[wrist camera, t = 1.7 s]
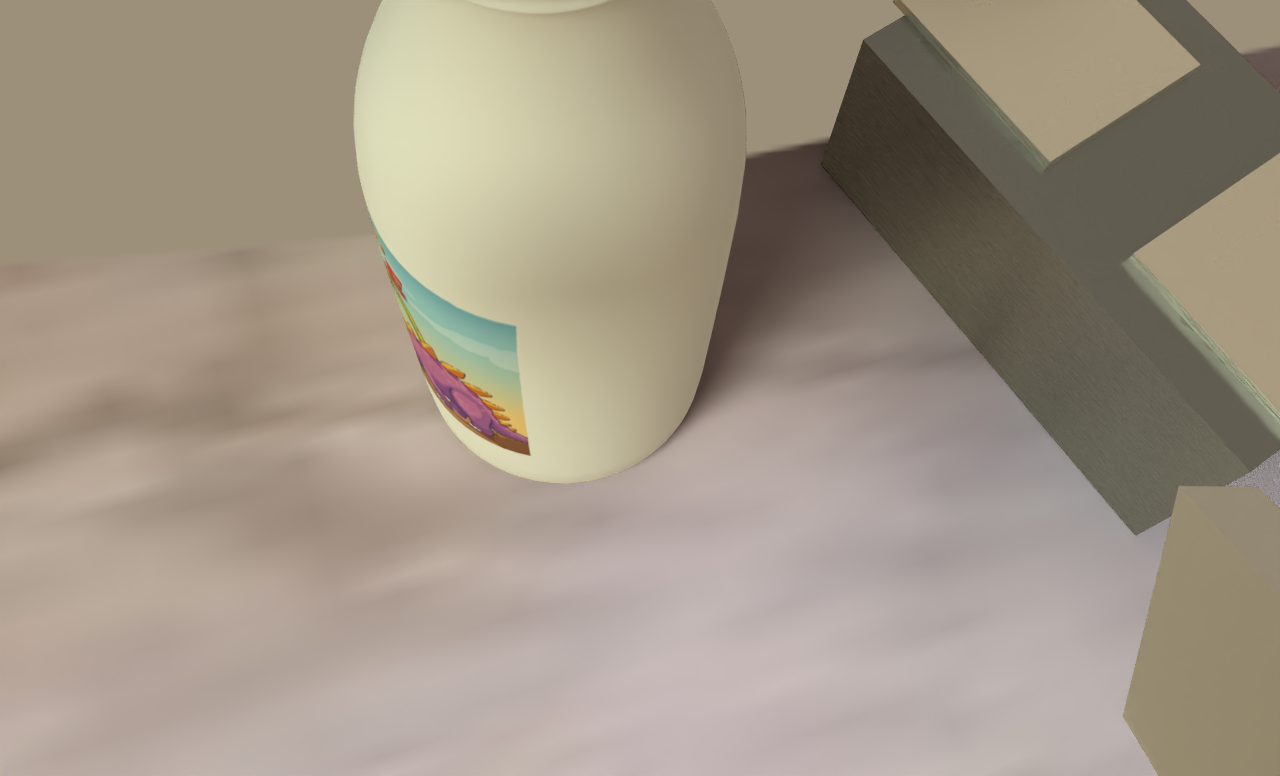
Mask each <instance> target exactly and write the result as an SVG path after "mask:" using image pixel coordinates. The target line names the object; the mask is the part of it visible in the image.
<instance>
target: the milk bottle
mask: <svg viewBox="0 0 1280 776" xmlns="http://www.w3.org/2000/svg"><path fill="white" fill-rule="evenodd" d="M354 104H355V105H354V136H355V146H356V155H357V164H358V172H359V176H360V181H361V186H362V190H363V193H364V197H365V201H366V204H367V208H368V211H369V215H370V219H371V223H372V226H373V230H374V233H375V236H376V239H377V242H378V245H379V248H380V251H381V254H382V257H383V260H384V263H385V266H386V269H387V272H388V275H389V278H390V280H391V283H392V286H393V289H394V292H395V295H396V298H397V301H398V304H399V307H400V310H401V312H402V315H403V318H404V321H405V324H406V326H407V329H408V332H409V335H410V337H411V340H412V343H413V346H414V349H415V351H416V354H417V357H418V360H419V362H420V365H421V368H422V370H423V373H424V376H425V379H426V381H427V384H428V387H429V389H430V391H431V394H432V396H433V398H434V400H435V402H436V404H437V406H438V408H439V411H440V413H441V414H442V416H443V418H444V419H445V421H446V423H447V424H448V426H449V427H450V428H451V430H452V431H453V432H454V434H455V435H456V436H457V437H458V438H459V439H460V440H461V441H462V442H463V443H464V445H466V446H467V447H468V448H469V449H470V450H471V451H473V452H474V453H475V454H476V455H478V456H479V457H481V458H482V459H483V460H485V461H486V462H488V463H490V464H492V465H493V466H495V467H497V468H499V469H501V470H503V471H506V472H508V473H510V474H513V475H516V476H519V477H522V478H526V479H530V480H535V481H541V482H548V483H579V482H586V481H592V480H596V479H600V478H604V477H608V476H611V475H613V474H616V473H619V472H621V471H623V470H625V469H628V468H630V467H632V466H634V465H635V464H637V463H639V462H640V461H642V460H644V459H645V458H646V457H648V456H649V455H651V454H652V453H653V452H655V451H656V450H657V449H658V448H659V447H660V446H661V445H662V444H664V443H665V442H666V441H667V439H668V438H669V437H670V436H671V435H672V434H673V433H674V432H675V430H676V429H677V428H678V426H679V425H680V423H681V422H682V420H683V419H684V417H685V415H686V414H687V412H688V410H689V408H690V406H691V404H692V401H693V399H694V396H695V393H696V390H697V387H698V384H699V381H700V378H701V375H702V371H703V367H704V363H705V359H706V355H707V351H708V347H709V342H710V338H711V334H712V330H713V325H714V321H715V317H716V312H717V308H718V304H719V299H720V295H721V291H722V286H723V282H724V277H725V272H726V268H727V263H728V258H729V254H730V249H731V244H732V240H733V235H734V230H735V226H736V221H737V216H738V210H739V203H740V197H741V190H742V183H743V177H744V170H745V161H746V110H745V101H744V95H743V89H742V82H741V77H740V73H739V68H738V64H737V61H736V57H735V55H734V51H733V49H732V46H731V43H730V40H729V37H728V34H727V32H726V29H725V27H724V25H723V23H722V21H721V19H720V17H719V15H718V13H717V11H716V9H715V7H714V5H713V3H712V1H711V0H382V2H381V4H380V6H379V8H378V10H377V13H376V16H375V18H374V21H373V23H372V26H371V28H370V31H369V34H368V36H367V39H366V42H365V45H364V49H363V53H362V57H361V62H360V66H359V71H358V75H357V82H356V90H355V103H354Z"/></svg>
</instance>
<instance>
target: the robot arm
mask: <svg viewBox="0 0 1280 776" xmlns="http://www.w3.org/2000/svg"><path fill="white" fill-rule="evenodd" d="M1123 717H1124V719H1125V721H1126V722H1127V724H1128V726H1129V727H1130V729H1131V731H1132V732H1133V734H1134V736H1135V737H1136V739H1137V741H1138V742H1139V744H1140V746H1141V747H1142V749H1143V751H1144V752H1145V754H1146V756H1147V757H1148V759H1149V761H1150V762H1151V764H1152V766H1153V767H1154V769H1155V771H1156V772H1157V774H1158V776H1280V508H1279V507H1278V506H1277V505H1276V504H1275V503H1274V502H1273V501H1272V500H1271V499H1270V498H1268V497H1267V496H1266V495H1265V494H1264V493H1263V492H1262V491H1261V490H1260V489H1259V488H1258V487H1229V486H1179V488H1178V492H1177V496H1176V500H1175V504H1174V508H1173V512H1172V516H1171V520H1170V525H1169V529H1168V533H1167V537H1166V541H1165V545H1164V549H1163V553H1162V557H1161V562H1160V566H1159V570H1158V574H1157V578H1156V582H1155V586H1154V590H1153V594H1152V599H1151V603H1150V607H1149V611H1148V615H1147V619H1146V623H1145V627H1144V631H1143V636H1142V640H1141V644H1140V648H1139V652H1138V656H1137V660H1136V664H1135V668H1134V672H1133V677H1132V681H1131V685H1130V689H1129V693H1128V697H1127V701H1126V705H1125V709H1124V714H1123Z"/></svg>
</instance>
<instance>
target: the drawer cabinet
mask: <svg viewBox="0 0 1280 776" xmlns="http://www.w3.org/2000/svg"><path fill="white" fill-rule="evenodd" d="M893 3H894V4H895V5H896V6H897V7H898V8H899V9H900V10H901V11H902V12H903V14H904V15H905V16H903V17H901V18H900V19H898V20H897V21H895V22H893V23H891V24H890V25H888V26H886V27H884V28H883V29H881V30H879V31H878V32H876V33H874V34H872V35H871V36H869V37H867V38H866V39H864V40H863V43H862V45H861V49H860V51H859V54H858V57H857V61H856V63H855V66H854V69H853V72H852V75H851V78H850V81H849V84H848V87H847V90H846V92H845V95H844V98H843V101H842V104H841V107H840V110H839V113H838V116H837V119H836V122H835V125H834V128H833V131H832V134H831V137H830V140H829V143H828V145H827V148H826V151H825V154H824V157H823V160H822V163H821V164H822V165H823V167H824V168H825V169H826V170H827V171H828V173H829V174H830V175H831V176H832V177H833V178H834V180H835V181H836V182H837V183H838V184H839V186H840V187H841V188H842V189H843V190H844V191H845V193H846V194H847V195H848V196H849V197H850V199H851V200H852V201H853V202H854V203H855V204H856V206H857V207H858V208H859V209H860V210H861V212H862V213H863V214H864V215H865V216H866V217H867V219H868V220H869V221H870V222H871V223H872V225H873V226H874V227H875V228H876V229H877V230H878V232H879V233H880V234H881V235H882V236H883V238H884V239H885V240H886V241H887V242H888V243H889V245H890V246H891V247H892V248H893V249H894V251H895V252H896V253H897V254H898V255H899V256H900V258H901V259H902V260H903V261H904V262H905V263H906V265H907V266H908V267H909V268H910V269H911V271H912V272H913V273H914V274H915V275H916V276H917V278H918V279H919V280H920V281H921V282H922V284H923V285H924V286H925V287H926V288H927V289H928V291H929V292H930V293H931V294H932V295H933V297H934V298H935V299H936V300H937V301H938V302H939V304H940V305H941V306H942V307H943V308H944V310H945V311H946V312H947V313H948V314H949V315H950V317H951V318H952V319H953V320H954V321H955V323H956V324H957V325H958V326H959V327H960V328H961V330H962V331H963V332H964V333H965V334H966V336H967V337H968V338H969V339H970V340H971V341H972V343H973V344H974V345H975V346H976V347H977V349H978V350H979V351H980V352H981V353H982V354H983V356H984V357H985V358H986V359H987V360H988V362H989V363H990V364H991V365H992V366H993V367H994V369H995V370H996V371H997V372H998V373H999V375H1000V376H1001V377H1002V378H1003V379H1004V380H1005V382H1006V383H1007V384H1008V385H1009V386H1010V388H1011V389H1012V390H1013V391H1014V392H1015V393H1016V395H1017V396H1018V397H1019V398H1020V399H1021V401H1022V402H1023V403H1024V404H1025V405H1026V406H1027V408H1028V409H1029V410H1030V411H1031V412H1032V414H1033V415H1034V416H1035V417H1036V418H1037V419H1038V421H1039V422H1040V423H1041V424H1042V425H1043V427H1044V428H1045V429H1046V430H1047V431H1048V432H1049V434H1050V435H1051V436H1052V437H1053V438H1054V440H1055V441H1056V442H1057V443H1058V444H1059V445H1060V447H1061V448H1062V449H1063V450H1064V451H1065V453H1066V454H1067V455H1068V456H1069V457H1070V458H1071V460H1072V461H1073V462H1074V463H1075V464H1076V466H1077V467H1078V468H1079V469H1080V470H1081V471H1082V473H1083V474H1084V475H1085V476H1086V477H1087V479H1088V480H1089V481H1090V482H1091V483H1092V484H1093V486H1094V487H1095V488H1096V489H1097V490H1098V492H1099V493H1100V494H1101V495H1102V496H1103V497H1104V499H1105V500H1106V501H1107V502H1108V503H1109V505H1110V506H1111V507H1112V508H1113V509H1114V510H1115V512H1116V513H1117V514H1118V515H1119V516H1120V518H1121V519H1122V520H1123V521H1124V522H1125V523H1126V525H1127V526H1128V527H1129V528H1130V529H1131V531H1132V532H1133V533H1134V534H1135V535H1138V534H1139V533H1141V532H1143V531H1145V530H1147V529H1148V528H1150V527H1152V526H1154V525H1156V524H1157V523H1159V522H1161V521H1163V520H1165V519H1166V518H1168V517H1170V516H1172V512H1173V508H1174V504H1175V500H1176V496H1177V492H1178V488H1179V486H1226V485H1228V484H1229V483H1231V482H1233V481H1235V480H1237V479H1238V478H1240V477H1242V476H1244V475H1246V474H1247V473H1249V472H1251V471H1252V470H1253V469H1255V468H1256V467H1257V466H1258V465H1260V464H1261V463H1262V462H1264V461H1265V460H1266V459H1268V458H1269V457H1270V456H1271V455H1273V454H1274V453H1275V452H1277V451H1278V450H1279V449H1280V92H1279V91H1278V90H1277V89H1276V88H1275V87H1274V86H1273V85H1271V84H1270V83H1269V82H1268V81H1267V80H1266V79H1265V78H1264V77H1263V76H1262V75H1261V74H1260V73H1259V72H1258V71H1257V70H1256V69H1255V68H1254V67H1253V66H1252V65H1251V64H1250V63H1249V62H1248V61H1247V60H1246V59H1245V58H1244V57H1243V56H1242V55H1241V54H1240V53H1239V52H1238V51H1237V50H1236V49H1235V48H1234V47H1233V46H1232V45H1231V44H1230V43H1229V42H1228V41H1227V40H1226V39H1225V38H1224V37H1223V36H1222V35H1221V34H1220V33H1219V32H1218V31H1217V30H1216V29H1215V28H1214V27H1213V26H1212V25H1211V24H1209V22H1207V20H1206V19H1204V18H1203V17H1202V16H1201V15H1200V14H1199V13H1198V12H1197V11H1196V10H1195V9H1194V8H1193V7H1192V6H1191V5H1190V4H1189V3H1188V2H1187V1H1186V0H894V1H893Z"/></svg>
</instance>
